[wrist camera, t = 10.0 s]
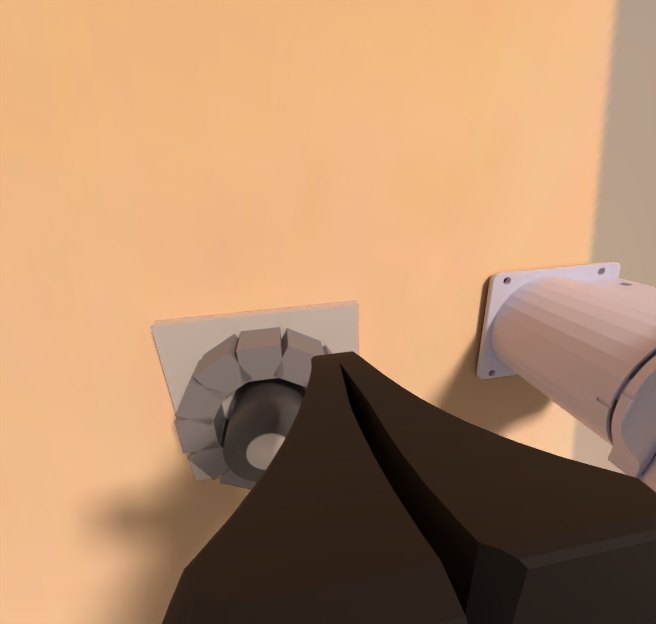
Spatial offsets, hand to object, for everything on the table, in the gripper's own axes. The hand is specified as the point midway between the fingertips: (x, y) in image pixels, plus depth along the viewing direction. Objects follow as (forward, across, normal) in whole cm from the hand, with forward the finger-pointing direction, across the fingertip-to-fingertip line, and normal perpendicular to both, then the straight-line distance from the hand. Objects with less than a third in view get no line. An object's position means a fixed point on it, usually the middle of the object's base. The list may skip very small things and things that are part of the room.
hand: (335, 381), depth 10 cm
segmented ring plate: (+10, +3, +7) cm, 12 cm away
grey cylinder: (+9, +3, +7) cm, 12 cm away
